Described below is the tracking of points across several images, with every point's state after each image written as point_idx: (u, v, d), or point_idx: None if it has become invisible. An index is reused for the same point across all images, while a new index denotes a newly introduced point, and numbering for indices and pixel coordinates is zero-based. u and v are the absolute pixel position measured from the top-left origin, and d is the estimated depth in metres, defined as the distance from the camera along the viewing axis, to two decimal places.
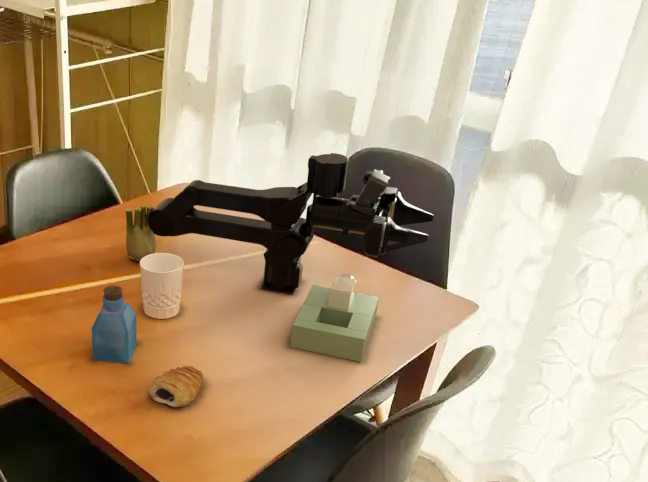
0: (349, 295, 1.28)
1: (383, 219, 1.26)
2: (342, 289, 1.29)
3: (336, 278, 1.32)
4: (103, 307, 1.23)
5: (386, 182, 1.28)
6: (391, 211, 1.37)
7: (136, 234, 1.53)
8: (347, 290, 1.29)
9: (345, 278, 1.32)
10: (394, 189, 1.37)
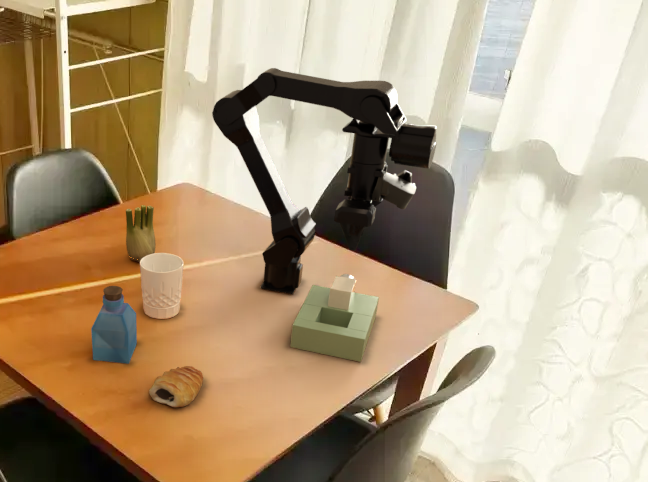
0: (349, 295, 1.28)
1: (373, 220, 1.25)
2: (342, 289, 1.29)
3: (336, 278, 1.32)
4: (103, 307, 1.23)
5: None
6: None
7: (136, 234, 1.53)
8: (347, 290, 1.29)
9: (345, 278, 1.32)
10: None
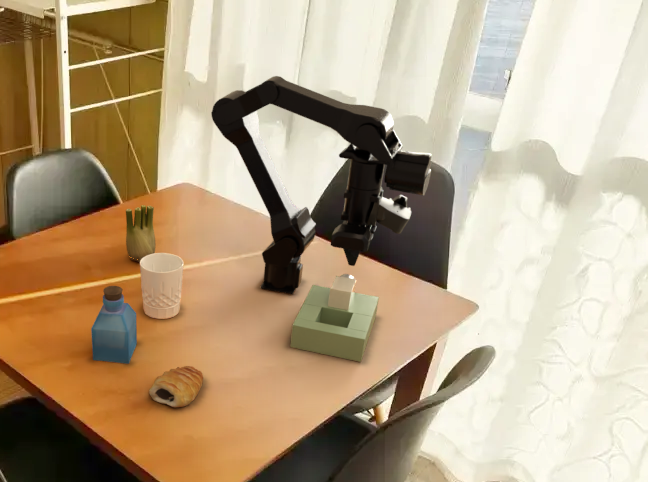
0: (349, 295, 1.28)
1: None
2: (342, 289, 1.29)
3: (336, 278, 1.32)
4: (103, 307, 1.23)
5: (401, 231, 1.30)
6: None
7: (136, 234, 1.53)
8: (347, 290, 1.29)
9: (345, 278, 1.32)
10: None
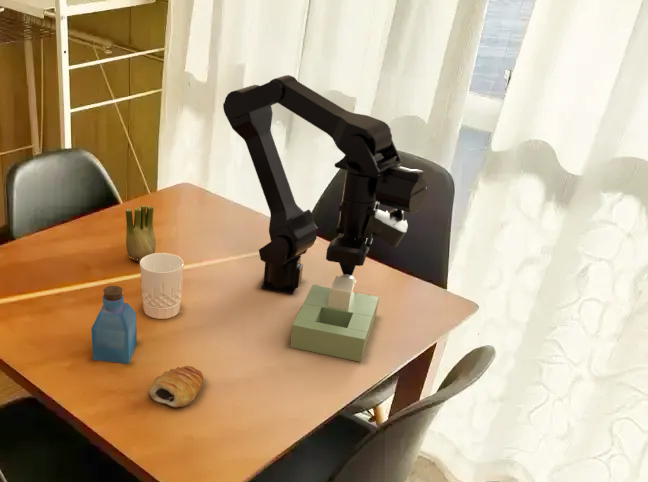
0: (349, 295, 1.28)
1: (365, 258, 1.25)
2: (342, 290, 1.29)
3: (336, 278, 1.32)
4: (103, 307, 1.23)
5: (397, 244, 1.27)
6: None
7: (136, 234, 1.53)
8: (347, 290, 1.29)
9: (345, 278, 1.32)
10: None
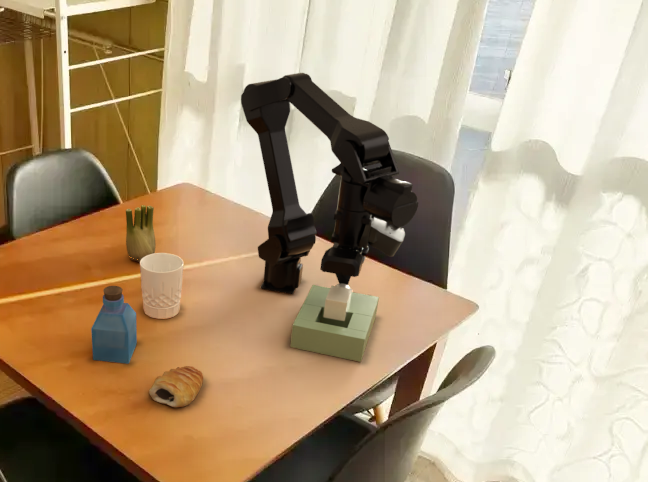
0: (345, 306, 1.25)
1: (360, 269, 1.22)
2: (338, 300, 1.26)
3: (332, 288, 1.29)
4: (103, 307, 1.23)
5: None
6: None
7: (136, 234, 1.53)
8: (343, 301, 1.26)
9: (341, 288, 1.29)
10: None
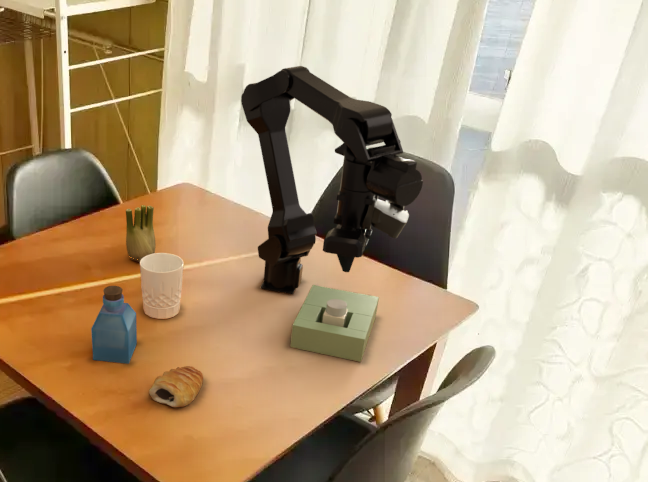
0: None
1: (363, 250, 1.20)
2: None
3: (324, 320, 1.28)
4: (103, 307, 1.23)
5: (398, 235, 1.22)
6: None
7: (136, 234, 1.53)
8: None
9: (333, 319, 1.27)
10: None
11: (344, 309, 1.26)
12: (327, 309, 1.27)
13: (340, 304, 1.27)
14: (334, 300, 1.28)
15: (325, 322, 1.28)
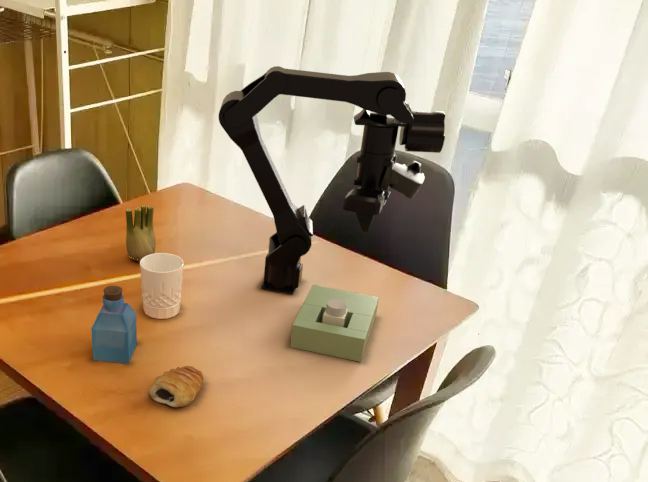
0: None
1: (381, 209, 1.28)
2: None
3: (324, 320, 1.28)
4: (103, 307, 1.23)
5: None
6: None
7: (136, 234, 1.53)
8: None
9: (333, 319, 1.27)
10: None
11: (344, 309, 1.26)
12: (327, 309, 1.27)
13: (340, 304, 1.27)
14: (334, 300, 1.28)
15: (325, 322, 1.28)
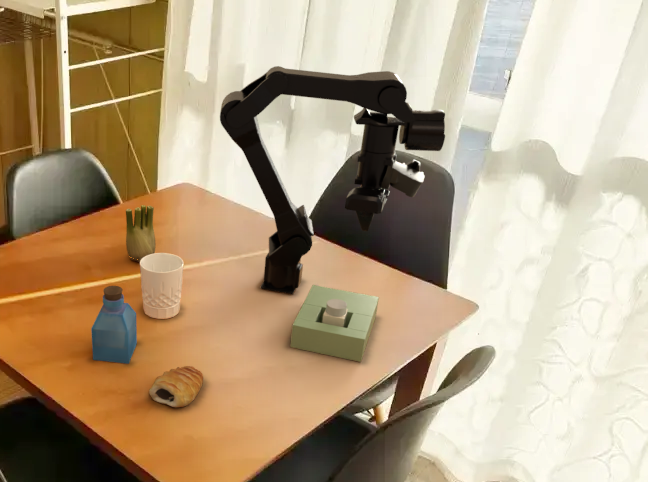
0: None
1: None
2: None
3: (324, 320, 1.28)
4: (103, 307, 1.23)
5: (414, 195, 1.31)
6: None
7: (136, 234, 1.53)
8: None
9: (333, 319, 1.27)
10: None
11: (344, 309, 1.26)
12: (327, 309, 1.27)
13: (340, 304, 1.27)
14: (334, 300, 1.28)
15: (325, 322, 1.28)
